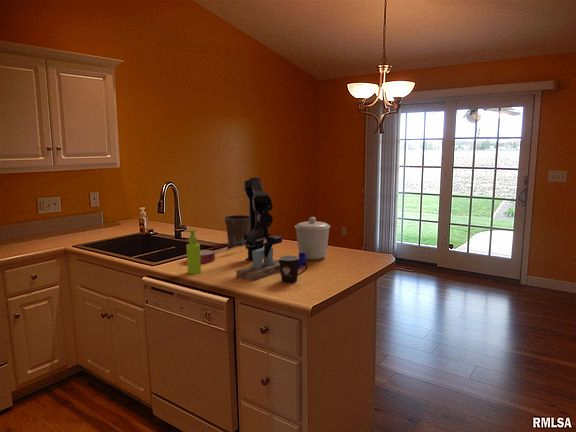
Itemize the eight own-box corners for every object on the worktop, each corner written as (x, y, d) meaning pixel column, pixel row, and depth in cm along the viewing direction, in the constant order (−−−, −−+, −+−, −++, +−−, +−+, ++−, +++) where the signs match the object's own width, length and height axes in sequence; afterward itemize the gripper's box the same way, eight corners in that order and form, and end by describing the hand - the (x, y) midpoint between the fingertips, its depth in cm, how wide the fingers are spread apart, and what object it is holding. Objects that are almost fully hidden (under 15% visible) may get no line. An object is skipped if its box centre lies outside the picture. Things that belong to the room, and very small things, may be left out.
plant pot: (258, 243, 259) (257, 216, 256) (236, 248, 248) (235, 220, 245) (241, 239, 271) (240, 214, 268) (219, 243, 260) (218, 217, 257)
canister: (325, 263, 211) (325, 220, 208) (290, 260, 217) (289, 219, 214) (334, 254, 228) (334, 214, 225) (301, 252, 234) (300, 213, 231)
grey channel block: (252, 269, 194) (252, 250, 193) (267, 264, 202) (267, 246, 200) (258, 270, 192) (257, 251, 191) (273, 265, 199) (272, 247, 198)
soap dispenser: (184, 271, 200) (182, 229, 197) (199, 270, 203) (197, 228, 200) (186, 275, 195) (184, 231, 192) (202, 273, 197) (199, 230, 194)
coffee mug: (275, 281, 184) (274, 258, 182) (289, 276, 190) (289, 254, 188) (294, 286, 176) (294, 262, 174) (309, 282, 182) (308, 258, 180)
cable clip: (293, 271, 198) (292, 258, 197) (285, 270, 201) (285, 257, 200) (308, 266, 207) (308, 253, 207) (300, 264, 210) (300, 252, 209)
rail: (236, 276, 191) (236, 270, 191) (272, 265, 209) (272, 259, 209) (252, 280, 185) (252, 274, 184) (288, 268, 203) (288, 262, 203)
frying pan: (230, 249, 244) (230, 238, 243) (247, 253, 236) (246, 241, 235) (183, 261, 220) (182, 249, 219) (199, 265, 212) (199, 252, 211)
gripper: (234, 223, 193) (235, 257, 196) (265, 227, 182) (266, 263, 184) (251, 219, 202) (252, 252, 204) (282, 223, 190) (283, 258, 192)
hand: (263, 256), depth 196 cm, fingers closed on grey channel block, 3 cm apart
